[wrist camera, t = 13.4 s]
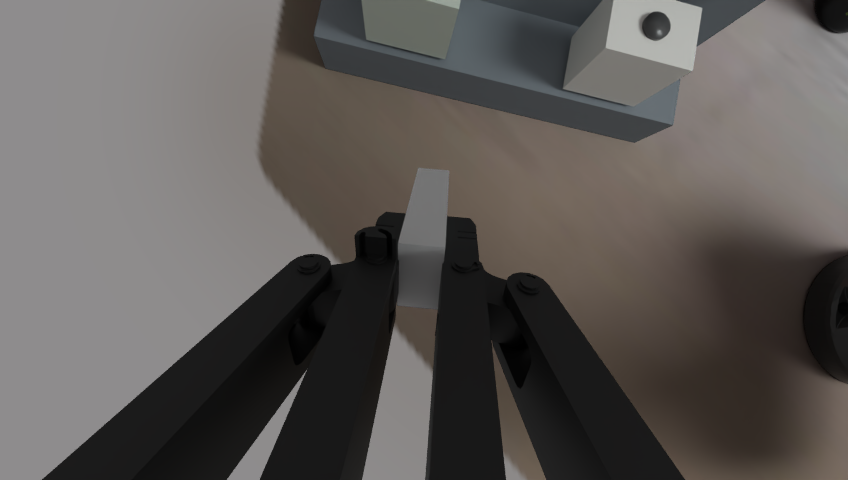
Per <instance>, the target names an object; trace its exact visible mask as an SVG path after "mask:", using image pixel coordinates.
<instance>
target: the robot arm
mask: <svg viewBox="0 0 848 480" xmlns="http://www.w3.org/2000/svg"><path fill="white" fill-rule="evenodd" d="M448 186H449V170H438V169H426V168H418V171H417V175H416V178H415V182H414V186H413V190H412V193H411V197H410V201H409V204H408V208H407V212H406V214H404V213H393V212H385V213H384V214H383V215H381V216H380V217H379V218H378V220H377V223H376V226H373V227H367V228H363V229H362V230H360V231H358V232H357V233H356V234H355V247H356V258H355V260H354V261H352V262H349V263H344V264H336V265H331V263H330V261H329V259H328V258H327V257H325V256H322V255H318V254H308V255H303V256H300V257H297V258H296V259H294V260H293V261H291V262H290V263H289V264H288V265H286V266H285V267H284V268H283V269H282V270H281V271H280V272H279V273H277V274H276V275H275V276H274V277H273V278H272V279H270V280H269V281H268V282H267V283H266V284H265V285H264V286H262V287H261V288H260V289H259V290H258V291H257V292H256V293H254V295H252V296H251V297H250V298H249V299H248V300H246V301H245V302H244V303H243V304H242V305H241V306H240V307H239V308H238V309H236V310H235V311H234V312H233V313H232V314H231V315H229V316H228V317H227V318H226V319H225V320H224V321H223V322H221V323H220V324H219V325H218V326H217V327H216V328H215V329H213V330H212V331H211V332H210V333H209V334H208V335H207V336H205V337H204V338H203V339H202V340H201V341H200V342H199V343H197V344H196V345H195V346H194V347H193V348H192V349H191V350H189V352H187V353H186V354H185V355H184V356H183V357H181V358H180V359H179V360H178V361H177V362H176V363H175V364H173V365H172V366H171V367H170V368H169V369H168V370H167V371H165V372H164V373H163V374H162V375H161V376H160V377H159V378H157V379H156V380H155V381H154V382H153V383H152V384H151V385H149V386H148V387H147V388H146V389H145V390H144V391H143V392H141V393H140V394H139V395H138V396H137V397H136V398H135V399H133V401H131V402H130V403H129V404H128V405H127V406H126V407H124V408H123V409H122V410H121V411H120V412H119V413H118V414H116V415H115V416H114V417H113V418H112V419H111V420H110V421H108V422H107V423H106V424H105V425H104V426H103V427H102V428H101V429H99V430H98V431H97V432H96V433H95V434H94V435H92V436H91V437H90V438H89V439H88V440H87V441H86V442H85V443H83V444H82V445H81V446H80V447H79V448H78V449H77V450H75V451H74V452H73V453H72V454H71V455H70V456H68V457H67V458H66V459H65V460H64V461H63V462H62V463H61V464H59V465H58V466H57V467H56V468H55V469H54V470H53V471H51V472H50V473H49V474H48V475H47V476H46V477H44V479H42V480H227V478H228V477H229V476H230V474H231V473H232V472H233V470H234V469H235V467H236V466H237V465H238V463H239V462H240V460H241V459H242V458H243V456H244V455H245V454H246V452H247V451H248V450H249V448H250V447H251V445H252V444H253V443H254V441H255V440H256V439H257V437H258V436H259V434H260V433H261V432H262V430H263V429H264V428H265V426H266V425H267V423H268V422H269V421H270V419H271V418H272V417H273V415H274V414H275V413H276V411H277V410H278V408H279V407H280V406H281V404H282V403H283V402H284V400H285V399H286V397H287V396H288V395H289V393H290V392H291V390H292V389H293V388H294V386H295V385H296V384H297V382H298V381H299V380H300V378H301V377H302V375H303V374H304V373H305V371H306V370H307V372H306V374H305V376H304V378H303V381H302V383H301V385H300V388H299V390H298V392H297V395H296V397H295V399H294V401H293V404H292V407H291V408H290V411H289V413H288V415H287V418H286V420H285V422H284V425H283V427H282V429H281V432H280V434H279V436H278V439H277V441H276V443H275V445H274V448H273V450H272V452H271V455H270V457H269V459H268V462H267V464H266V466H265V469H264V471H263V473H262V476H261V478H260V480H362V477H363V472H364V466H365V462H366V457H367V452H368V448H369V442H370V438H371V433H372V428H373V423H374V418H375V414H376V409H377V404H378V399H379V394H380V389H381V385H382V380H383V375H384V370H385V365H386V360H387V356H388V351H389V346H390V341H391V336H392V331H393V327H394V322H395V317H396V302H397V306H406V307H416V308H426V309H436V310H438V313H437V323H436V332H435V336H436V338H435V352H434V366H433V380H432V394H431V408H430V421H429V436H428V450H427V464H426V477H425V480H506V476H505V466H504V457H503V447H502V438H501V428H500V419H499V410H498V400H497V391H496V381H495V372H494V362H493V353H492V344H491V340H492V343H493V347H494V349H495V352H496V354H497V357H498V359H499V362H500V364H501V367H502V369H503V372H504V374H505V377H506V379H507V382H508V384H509V387H510V389H511V392H512V394H513V397H514V399H515V402H516V404H517V407H518V409H519V412H520V414H521V417H522V419H523V422H524V424H525V427H526V429H527V432H528V434H529V437H530V439H531V442H532V444H533V447H534V449H535V452H536V454H537V457H538V460H539V462H540V465H541V467H542V470H543V472H544V475H545V477H546V480H685V479H684V478H683V476H682V475H681V473H680V472H679V470H678V469H677V468H676V466H675V465H674V463H673V462H672V460H671V459H670V458H669V456H668V455H667V453H666V452H665V450H664V449H663V448H662V446H661V445H660V443H659V442H658V440H657V439H656V438H655V436H654V435H653V433H652V432H651V430H650V429H649V428H648V426H647V425H646V423H645V422H644V420H643V419H642V418H641V416H640V415H639V413H638V412H637V410H636V409H635V408H634V406H633V405H632V403H631V402H630V400H629V399H628V398H627V396H626V395H625V393H624V392H623V390H622V389H621V388H620V386H619V385H618V383H617V382H616V380H615V379H614V378H613V376H612V375H611V373H610V372H609V370H608V369H607V368H606V366H605V365H604V363H603V362H602V360H601V359H600V358H599V356H598V355H597V353H596V352H595V350H594V349H593V348H592V346H591V345H590V343H589V342H588V340H587V339H586V338H585V336H584V335H583V333H582V332H581V330H580V329H579V328H578V326H577V325H576V323H575V322H574V320H573V319H572V318H571V316H570V315H569V313H568V312H567V310H566V309H565V308H564V306H563V305H562V303H561V302H560V300H559V299H558V298H557V296H556V295H555V293H554V292H553V290H552V289H551V288H550V286H549V285H548V284H547V283H546V282H545V281H544V280H543V279H541V278H540V277H538V276H536V275H533V274H529V273H515V274H512V275H511V276H509V277H508V279H507V280H504V279H501V278H498V277H495V276H493V275H491V274H489V273H487V272H486V271H485V270H484V268H483V266H482V263H481V262H480V261H479V254H478V244H477V234H476V225H475V224H474V223H473V221H472V220H471V219H470V218H460V217H448V216H447V206H448ZM804 321H805V331H806V335H807V339H808V342H809V345H810V348H811V350H812V352H813V354H814V356H815V357H816V359H817V360H818V362H819V363H820V364H821V366H822V367H823V368H824V369H825V370H826V371H827V372H828V373H830V374H831V375H832V376H834V377H835V378H837V379H838V380H840V381H842V382H845V383H847V384H848V256H845V257H842V258H839V259H837V260H835V261H833V262H832V263H830V264H829V265H828V266H827V267H825V268H824V269H823V270H822V271H821V273H820V274H819V275H818V276H817V278H816V279H815V281H814V282H813V284H812V286H811V288H810V291H809V293H808V296H807V300H806V305H805V314H804Z"/></svg>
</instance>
